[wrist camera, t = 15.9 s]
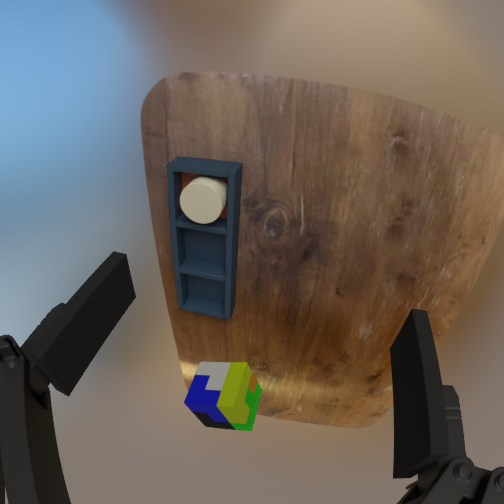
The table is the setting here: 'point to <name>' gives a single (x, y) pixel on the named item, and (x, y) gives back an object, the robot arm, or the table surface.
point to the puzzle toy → (224, 395)
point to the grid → (205, 240)
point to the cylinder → (204, 198)
